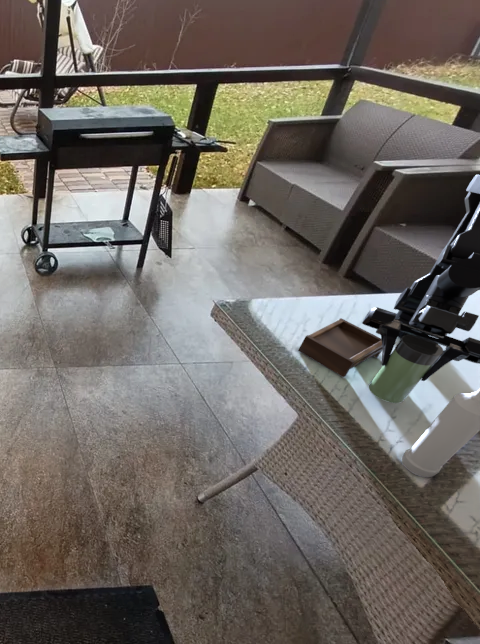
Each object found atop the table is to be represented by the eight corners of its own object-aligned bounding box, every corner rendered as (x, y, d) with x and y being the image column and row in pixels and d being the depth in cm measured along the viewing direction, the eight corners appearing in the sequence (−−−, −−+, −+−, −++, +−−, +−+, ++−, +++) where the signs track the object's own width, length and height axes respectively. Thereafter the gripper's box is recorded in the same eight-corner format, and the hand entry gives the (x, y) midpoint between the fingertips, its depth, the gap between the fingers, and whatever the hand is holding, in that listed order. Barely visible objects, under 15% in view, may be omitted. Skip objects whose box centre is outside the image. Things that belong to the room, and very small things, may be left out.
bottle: (392, 455, 87) (479, 356, 72) (418, 453, 88) (510, 353, 73) (415, 479, 83) (512, 379, 68) (443, 477, 84) (545, 377, 68)
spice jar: (378, 377, 100) (412, 330, 92) (411, 396, 95) (450, 348, 87) (361, 388, 97) (395, 340, 89) (394, 407, 93) (433, 359, 85)
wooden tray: (332, 332, 116) (341, 318, 114) (378, 356, 109) (388, 342, 106) (297, 350, 111) (305, 336, 108) (343, 377, 104) (352, 362, 101)
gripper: (394, 272, 89) (354, 344, 90) (529, 311, 79) (483, 391, 80) (380, 289, 99) (344, 354, 99) (500, 326, 88) (458, 398, 89)
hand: (402, 372), depth 92 cm, fingers closed on spice jar, 6 cm apart
